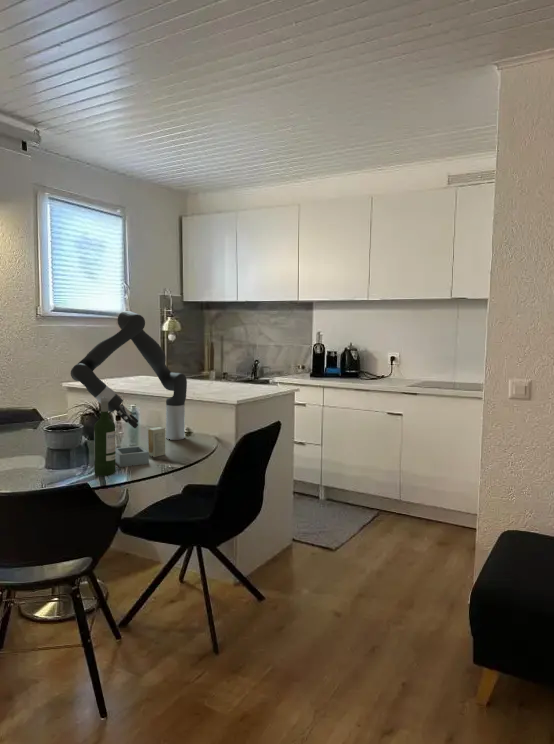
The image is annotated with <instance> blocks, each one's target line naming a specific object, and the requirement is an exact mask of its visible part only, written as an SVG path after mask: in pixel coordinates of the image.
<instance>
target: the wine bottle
mask: <svg viewBox="0 0 554 744" xmlns="http://www.w3.org/2000/svg"><path fill="white" fill-rule="evenodd" d="M109 416H110V415H109V411H108V397H101V404H100V417H99V419H98V420H97V421H96V422H95V423H94V425H93V441H94V444H93V449H94V452H93V453H94V456H93V457H94V459H93V460H94V461H93V462H94V465H93V466H94V475H95V476H99V477H100V476H101V477H105V476H112V475H115V474H116V471H117V470H116V468H117V467H116V465H117V464H116V463H115V448H116V425H115V422H114V421H113V420H112V419H110V417H109Z"/></svg>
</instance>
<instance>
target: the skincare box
mask: <svg viewBox="0 0 554 744" xmlns="http://www.w3.org/2000/svg"><path fill="white" fill-rule="evenodd" d="M147 434H148V435H147V436H148V438H147V439H148V440H147V441H148V452H149V457H152V456H153V457H152V458H155V457H160V456H164V455H166V427H165V428H164V427H163V426H158V427H157V426H156V427H151V428H148V429H147Z"/></svg>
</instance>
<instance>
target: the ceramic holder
mask: <svg viewBox="0 0 554 744" xmlns="http://www.w3.org/2000/svg"><path fill="white" fill-rule="evenodd" d="M149 457H150V455H149V450H148V449H146V448H144V446H142V445H134V446H125V447H124V446H123V447H115V463H116V465H117V466H118V468H123V467H133V466H139V465H138V464H142V465H147V464H146V463H150V462H149V461H150V458H149ZM132 465H133V466H132Z"/></svg>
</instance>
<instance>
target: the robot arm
mask: <svg viewBox="0 0 554 744" xmlns="http://www.w3.org/2000/svg"><path fill="white" fill-rule="evenodd" d="M117 325H118V327H119V328H120V330H119V331H118V332H117V333H114V335H112V336H109V337H108V338H106V339H104V340H102V341H100V342H98V344H96V345H95V346H94V347H93V348H92V349H91V350H90V351H88V353H87V354H86V355H85V356H84V357H83V358H82V359H81V360H79V362H78V363H76V364H75V365H74V366H73V367H72V368H71V370H70V376H71V378H72V380H74V381H76V382H80V383H81V385H83V386H84V387H85V389H86V391H87V392H89V394H90V395H92V396H93V397H94V398H95V399H96V400H97V401H98V403H100V405H101V397H108V413H113V412H114V411H116V415H117V416H119V417H120V418H121V419H122V421H124V422H125V423H127V424H129V425H130V426H131V427H132V428H134V429H136V428H137V427H138V426H139V424H138V422H139V419H137V418H136V416H135V415H133V413H132V412H131V411H130V410H129V409H128V408H127V407H126V406H125V405H124V404H122V403H123V402H124V400H123V398H122V397H120V396H119V394H117V393H116V392H115V391H114V390H113V389H112V388H110V387H109V386H108V385H107V384H106V383H105V382H103V380H102V379H100V378H99V377H98V376H97V375H96V373H95V372H94V371H95V370H96V368H97V367H99V366H101V365H102V364H103V363H104V361H106V360H108V358H110V356H111V355H112V354H113V353H114V352H115V351H117V350H118V349H119V348H120V347H122V346H123V345H125V344H126V343H128V341H132V343H133V345H134V346H135V347H136V349H137V350H138V352H140V354H141V356H142V357H143V359H144V360H145V362H147V363H148V365H149V366H150V368H151V369H152V371H153V372H154V373H155V374H156V376H157V377H158V379H159V381H160V384H162V386H163V387H164V389H165V390H167V391H173V394H172V396H171V397H167V398H166V401H165V409H166V411H165V415H166V416H165V439H166V438H167V439H166V440H169V439H170V441H177V440H179V441H180V440H183V439H185V436H186V435H185V434H186V433H185V432H186V431H185V429H186V427H185V426H186V424H185V423H186V422H185V417H186V415H185V414H186V411H185V410H186V409H185V406H186V399H187V389H188V388H187V386H188V380H187V376H186V375H185V373H181V372H172V371H171V370H170V369H169V368H168V366H167V364H166V360H167V358H166V353H165V351H164V350H163V348H162V346H160V343H158V342H157V341H156V340H155V339H154V338H153V337H152V336H150V335H149V334H148V333H147V332H146V331H145V330H144V328H145V325H146V320H145V318H144V316H143V315H141V314H139V313H136V312H134V311H129V310H123V311H121V312H120V313H119V314H118V316H117Z"/></svg>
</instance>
